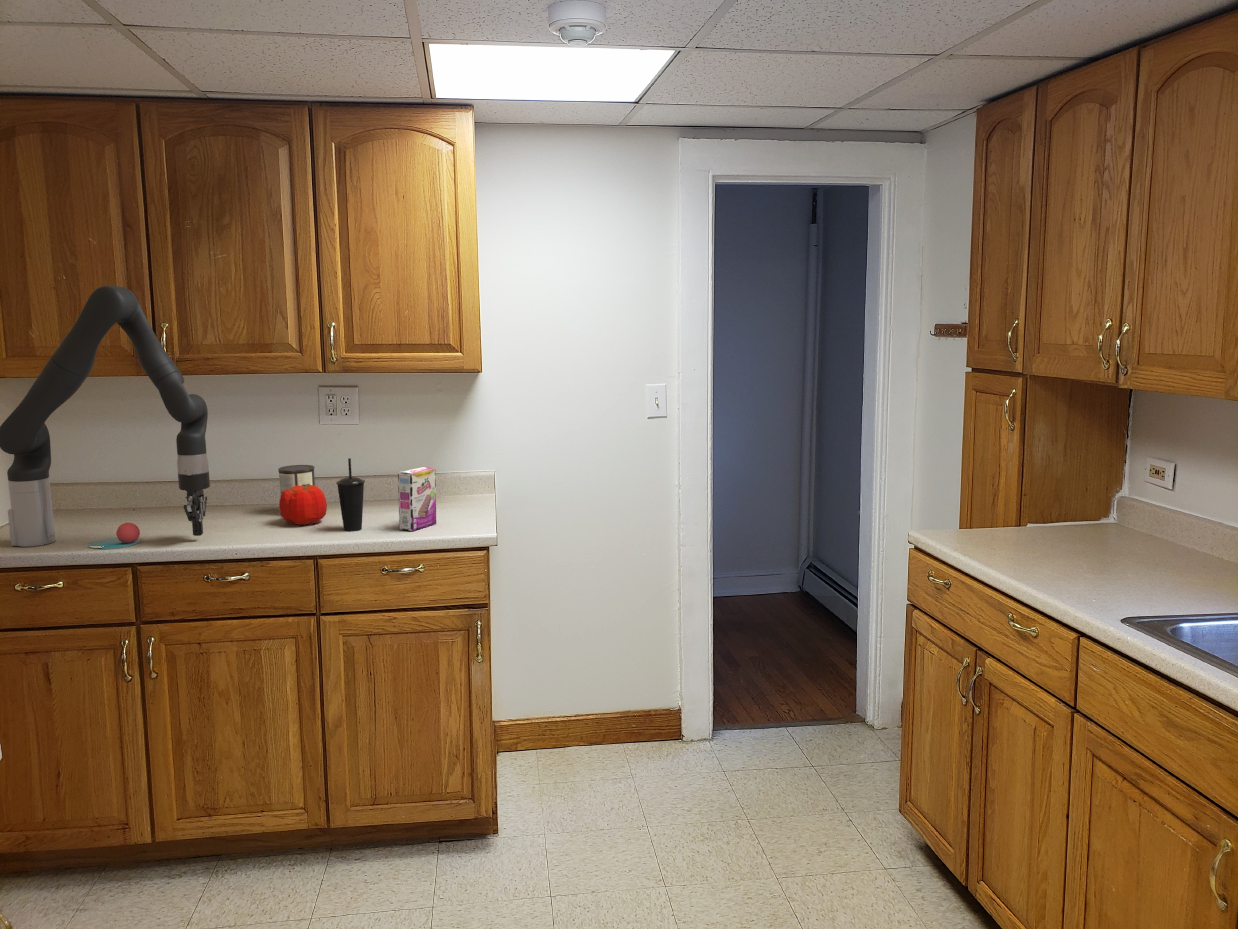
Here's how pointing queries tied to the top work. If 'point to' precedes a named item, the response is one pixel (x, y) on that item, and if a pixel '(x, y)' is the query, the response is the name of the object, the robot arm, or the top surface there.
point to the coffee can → (296, 476)
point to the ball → (128, 533)
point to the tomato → (303, 505)
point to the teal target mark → (112, 543)
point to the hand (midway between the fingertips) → (198, 535)
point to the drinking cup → (351, 501)
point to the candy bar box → (417, 498)
